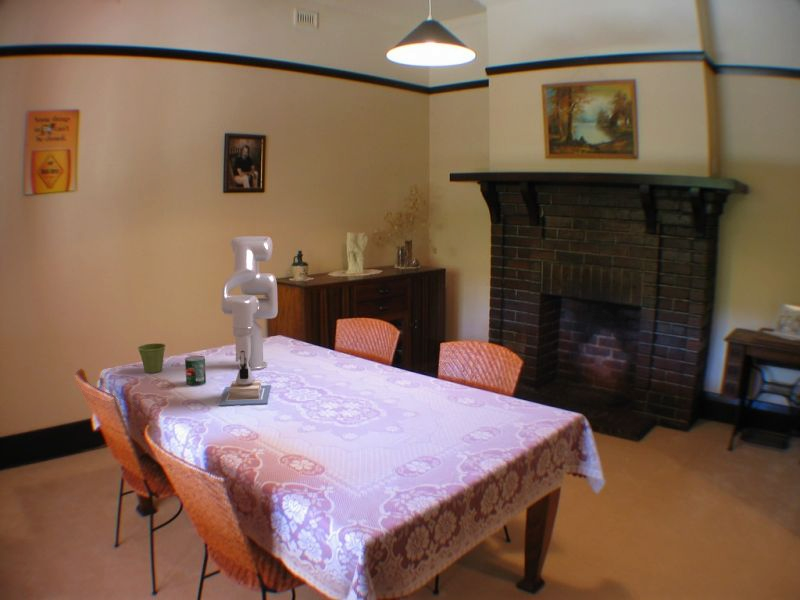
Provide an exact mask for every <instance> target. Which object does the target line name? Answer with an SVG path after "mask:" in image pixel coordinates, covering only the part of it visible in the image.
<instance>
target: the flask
mask: <svg viewBox="0 0 800 600" xmlns="http://www.w3.org/2000/svg"><path fill="white" fill-rule="evenodd" d="M244 361H246V359H244ZM244 363H245V364H246V362H244ZM247 368H248V377H249V378H248V379H240V368H239V369H238V373H237V376H236V379H235V380H234V381H235V383H238V384H250V383H253V382H254V381H255V380H256V379H255V377H254V375H253V373H252V370H250V367H249V364H248V361H247Z"/></svg>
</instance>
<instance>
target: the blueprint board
mask: <svg viewBox="0 0 800 600" xmlns="http://www.w3.org/2000/svg"><path fill="white" fill-rule="evenodd" d="M229 388H230V386H226V387H225V388H224V390H223V393H222V395H221V396H220V399H219V402H218V404H217V406H218V407H233V406H234V405H240V406H257V405H259V406H261V405H262V406H263V404H265V405H268V402H269V399H270V398H269V397H270V394H269V393H271V388H272V385H271V384H269V385H266V384H265V385H261V392H260V396H259V399H234V400H229ZM234 407H235V406H234Z"/></svg>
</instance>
